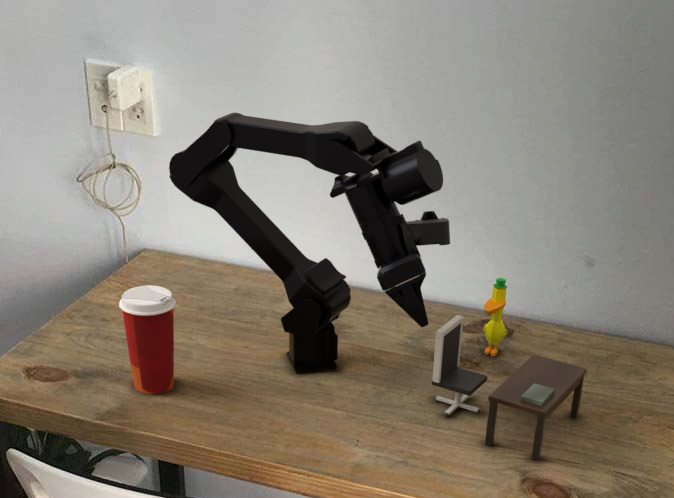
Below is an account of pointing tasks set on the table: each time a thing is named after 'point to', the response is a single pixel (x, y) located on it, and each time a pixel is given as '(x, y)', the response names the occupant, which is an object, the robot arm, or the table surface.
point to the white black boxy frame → (453, 367)
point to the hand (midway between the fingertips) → (423, 319)
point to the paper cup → (150, 337)
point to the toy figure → (495, 316)
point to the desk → (537, 393)
